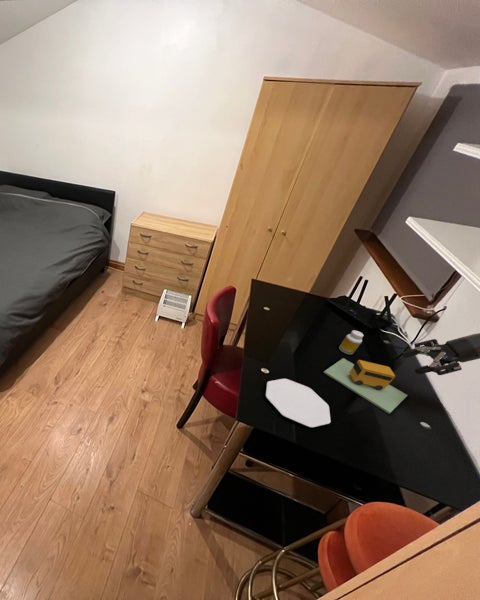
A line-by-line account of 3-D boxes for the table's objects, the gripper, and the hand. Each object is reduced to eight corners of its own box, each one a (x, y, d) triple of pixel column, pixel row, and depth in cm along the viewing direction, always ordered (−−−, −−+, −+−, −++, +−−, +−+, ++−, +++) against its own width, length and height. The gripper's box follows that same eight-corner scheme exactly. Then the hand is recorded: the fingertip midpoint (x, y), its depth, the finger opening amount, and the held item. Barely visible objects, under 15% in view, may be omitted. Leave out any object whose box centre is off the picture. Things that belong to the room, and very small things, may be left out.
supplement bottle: (351, 356, 136) (364, 339, 131) (337, 349, 140) (348, 332, 134) (354, 351, 139) (367, 334, 134) (340, 344, 143) (352, 327, 137)
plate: (326, 397, 116) (328, 394, 115) (330, 438, 102) (332, 436, 101) (266, 374, 124) (268, 371, 123) (262, 410, 109) (264, 407, 108)
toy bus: (376, 381, 124) (389, 366, 119) (382, 391, 119) (395, 376, 115) (346, 374, 126) (357, 359, 122) (351, 383, 122) (362, 368, 117)
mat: (406, 396, 119) (407, 395, 119) (389, 414, 112) (390, 412, 111) (342, 359, 134) (343, 358, 134) (323, 372, 127) (324, 371, 127)
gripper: (454, 326, 110) (395, 343, 119) (483, 353, 98) (415, 369, 107) (462, 342, 111) (403, 357, 120) (491, 370, 100) (423, 384, 109)
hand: (408, 363), depth 114 cm, fingers open, 8 cm apart
